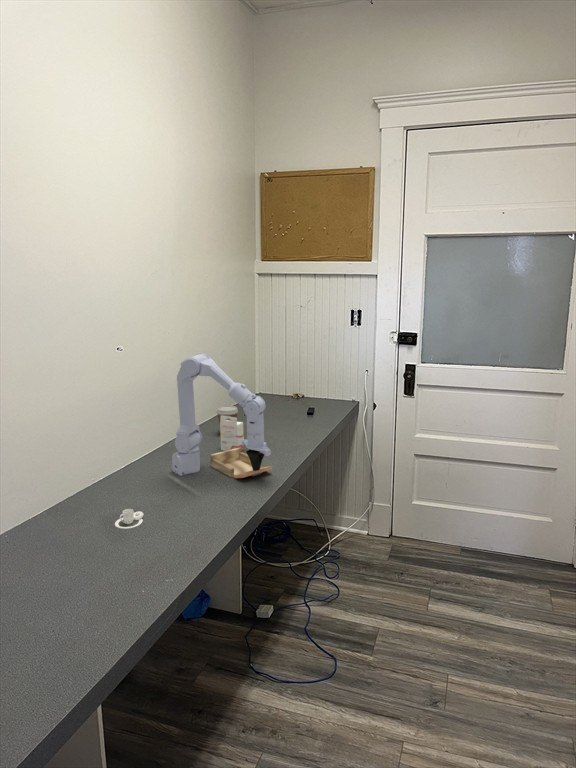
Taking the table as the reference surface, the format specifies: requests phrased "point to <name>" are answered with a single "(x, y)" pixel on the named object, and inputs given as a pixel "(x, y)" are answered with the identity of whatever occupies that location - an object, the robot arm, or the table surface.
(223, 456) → the tray
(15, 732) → the table surface
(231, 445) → the ink cartridge box
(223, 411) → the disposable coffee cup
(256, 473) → the panel
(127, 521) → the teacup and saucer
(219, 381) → the robot arm
